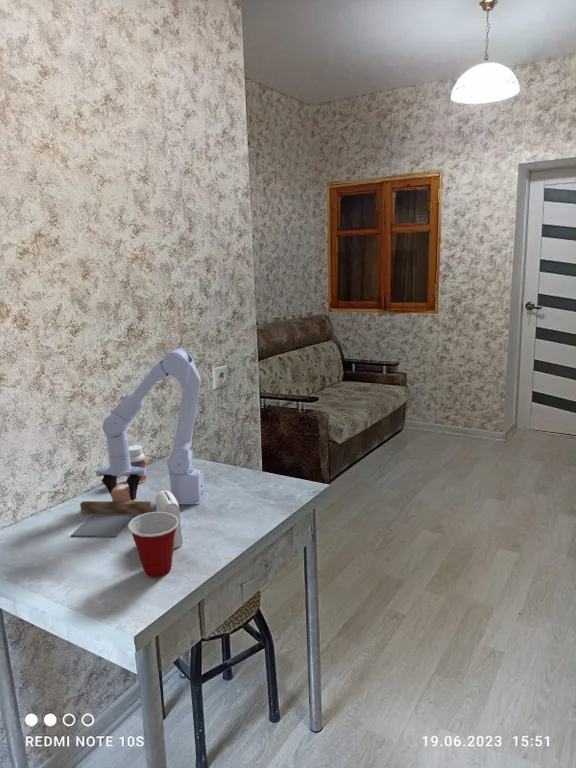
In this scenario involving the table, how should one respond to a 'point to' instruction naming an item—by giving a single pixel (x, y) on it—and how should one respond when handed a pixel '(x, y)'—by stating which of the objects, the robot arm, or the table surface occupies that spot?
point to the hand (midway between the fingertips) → (124, 498)
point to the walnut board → (115, 507)
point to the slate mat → (103, 525)
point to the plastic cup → (154, 541)
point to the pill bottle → (137, 459)
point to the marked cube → (121, 493)
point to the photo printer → (170, 505)
